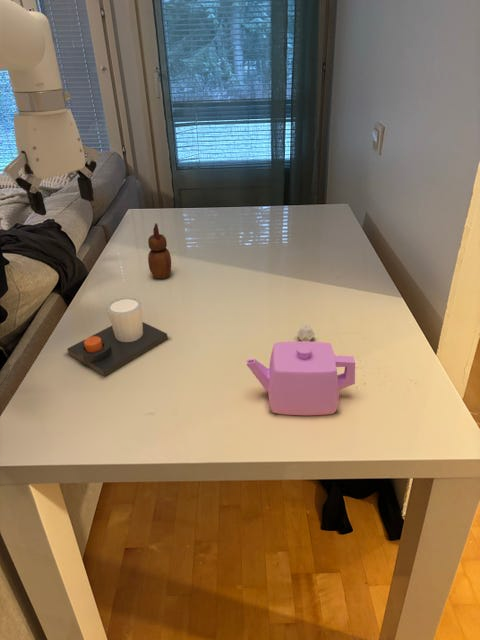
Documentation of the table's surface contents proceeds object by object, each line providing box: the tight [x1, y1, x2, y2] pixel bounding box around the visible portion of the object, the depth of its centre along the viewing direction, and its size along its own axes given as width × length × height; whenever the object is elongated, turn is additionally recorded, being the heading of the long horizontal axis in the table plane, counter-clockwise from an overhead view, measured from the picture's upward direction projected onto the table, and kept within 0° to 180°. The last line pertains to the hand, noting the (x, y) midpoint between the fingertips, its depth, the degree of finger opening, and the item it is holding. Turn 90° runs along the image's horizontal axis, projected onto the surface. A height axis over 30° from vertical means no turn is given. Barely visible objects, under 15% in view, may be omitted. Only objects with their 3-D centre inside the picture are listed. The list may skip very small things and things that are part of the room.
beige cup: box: [106, 297, 143, 342], centre depth 95 cm, size 7×7×7 cm
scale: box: [67, 321, 169, 377], centre depth 95 cm, size 17×12×3 cm
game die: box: [296, 324, 315, 342], centre depth 95 cm, size 4×4×3 cm
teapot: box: [246, 340, 356, 416], centre depth 78 cm, size 18×10×10 cm, turn 87°
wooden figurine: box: [147, 223, 172, 280], centre depth 120 cm, size 7×6×15 cm
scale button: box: [84, 335, 103, 352], centre depth 90 cm, size 3×3×2 cm
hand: (64, 206), depth 84 cm, fingers open, 9 cm apart
